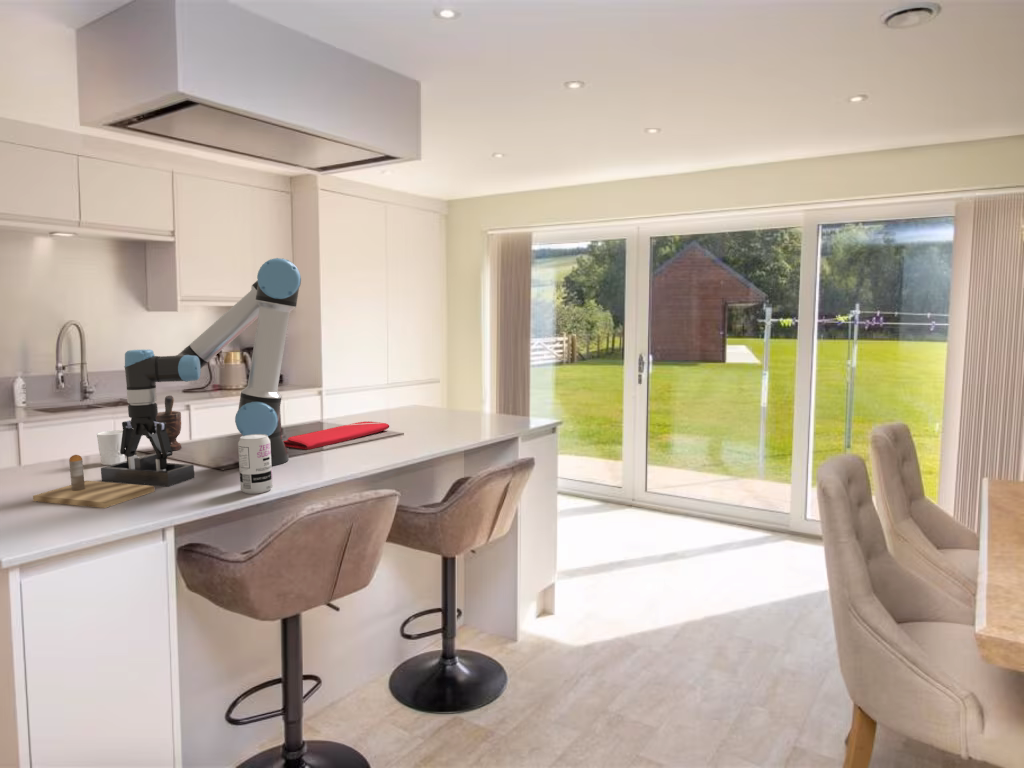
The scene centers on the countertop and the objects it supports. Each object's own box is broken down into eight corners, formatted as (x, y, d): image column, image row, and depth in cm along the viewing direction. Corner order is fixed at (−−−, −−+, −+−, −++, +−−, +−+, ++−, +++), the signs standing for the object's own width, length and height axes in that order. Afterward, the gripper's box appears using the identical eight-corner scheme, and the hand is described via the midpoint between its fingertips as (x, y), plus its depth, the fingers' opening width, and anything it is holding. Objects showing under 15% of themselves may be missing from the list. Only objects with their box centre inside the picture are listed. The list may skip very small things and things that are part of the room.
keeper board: (154, 491, 190) (151, 452, 189) (105, 508, 175) (101, 465, 174) (86, 485, 197) (83, 447, 196) (33, 501, 182) (29, 460, 181)
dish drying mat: (279, 446, 251) (278, 436, 250) (362, 428, 284) (362, 419, 284) (308, 451, 242) (307, 441, 242) (390, 432, 276) (390, 423, 275)
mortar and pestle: (193, 449, 245) (189, 393, 243) (169, 454, 238) (165, 396, 236) (175, 446, 252) (171, 391, 249) (151, 450, 245) (147, 394, 242)
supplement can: (245, 487, 194) (242, 434, 192) (276, 486, 194) (273, 433, 193) (236, 495, 186) (233, 439, 184) (268, 493, 186) (265, 439, 184)
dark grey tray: (129, 473, 211) (128, 450, 211) (194, 478, 204) (192, 454, 204) (101, 481, 202) (99, 457, 201) (168, 486, 195) (166, 462, 194)
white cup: (114, 466, 221) (112, 435, 220) (93, 465, 223) (90, 434, 222) (132, 460, 229) (130, 430, 228) (112, 459, 231) (109, 430, 229)
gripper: (183, 402, 201) (188, 478, 204) (123, 400, 207) (128, 473, 210) (163, 406, 194) (168, 484, 196) (101, 403, 200) (107, 479, 203)
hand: (148, 479), depth 203 cm, fingers open, 9 cm apart
